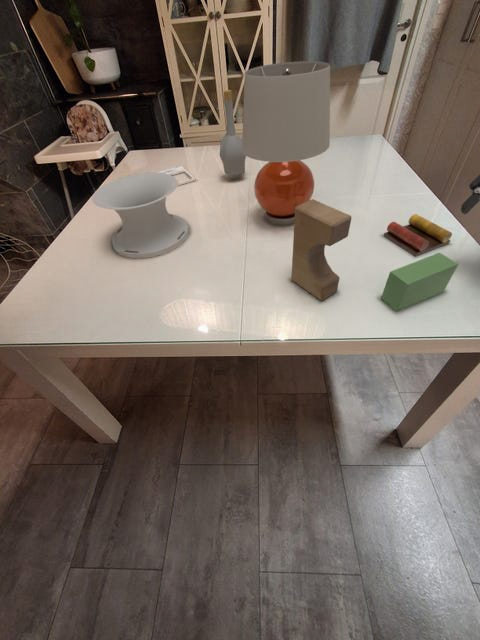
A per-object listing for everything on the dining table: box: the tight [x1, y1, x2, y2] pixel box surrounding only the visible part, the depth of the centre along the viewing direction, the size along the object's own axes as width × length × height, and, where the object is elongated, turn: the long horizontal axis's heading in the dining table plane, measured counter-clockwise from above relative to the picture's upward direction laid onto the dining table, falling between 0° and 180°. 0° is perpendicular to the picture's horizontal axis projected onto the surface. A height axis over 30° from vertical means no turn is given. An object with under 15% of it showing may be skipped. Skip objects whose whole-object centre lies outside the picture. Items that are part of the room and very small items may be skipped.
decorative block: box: [290, 198, 352, 302], centre depth 68 cm, size 11×6×20 cm, turn 34°
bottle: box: [219, 89, 247, 180], centre depth 115 cm, size 11×11×30 cm
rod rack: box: [383, 213, 453, 257], centre depth 84 cm, size 12×12×4 cm
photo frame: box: [157, 165, 196, 186], centre depth 131 cm, size 15×1×18 cm
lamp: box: [241, 60, 331, 227], centre depth 86 cm, size 25×25×39 cm
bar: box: [380, 252, 459, 312], centre depth 67 cm, size 5×14×8 cm, turn 114°
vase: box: [91, 171, 190, 259], centre depth 93 cm, size 25×25×16 cm
